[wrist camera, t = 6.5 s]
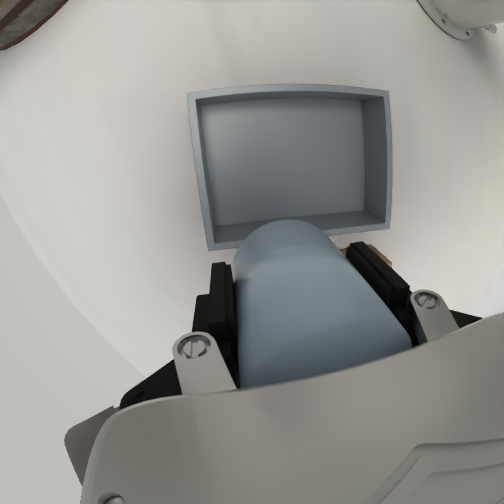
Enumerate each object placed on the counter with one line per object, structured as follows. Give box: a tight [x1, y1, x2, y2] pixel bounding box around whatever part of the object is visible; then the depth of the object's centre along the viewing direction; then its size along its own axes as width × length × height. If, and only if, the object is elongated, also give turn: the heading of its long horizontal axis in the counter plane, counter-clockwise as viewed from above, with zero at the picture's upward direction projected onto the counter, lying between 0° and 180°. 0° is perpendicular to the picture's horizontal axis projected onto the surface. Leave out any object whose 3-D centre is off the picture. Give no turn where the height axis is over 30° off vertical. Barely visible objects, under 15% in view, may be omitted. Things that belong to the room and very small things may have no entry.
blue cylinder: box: [233, 219, 412, 389], centre depth 10 cm, size 5×5×7 cm
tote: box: [187, 84, 392, 251], centre depth 23 cm, size 17×13×5 cm
